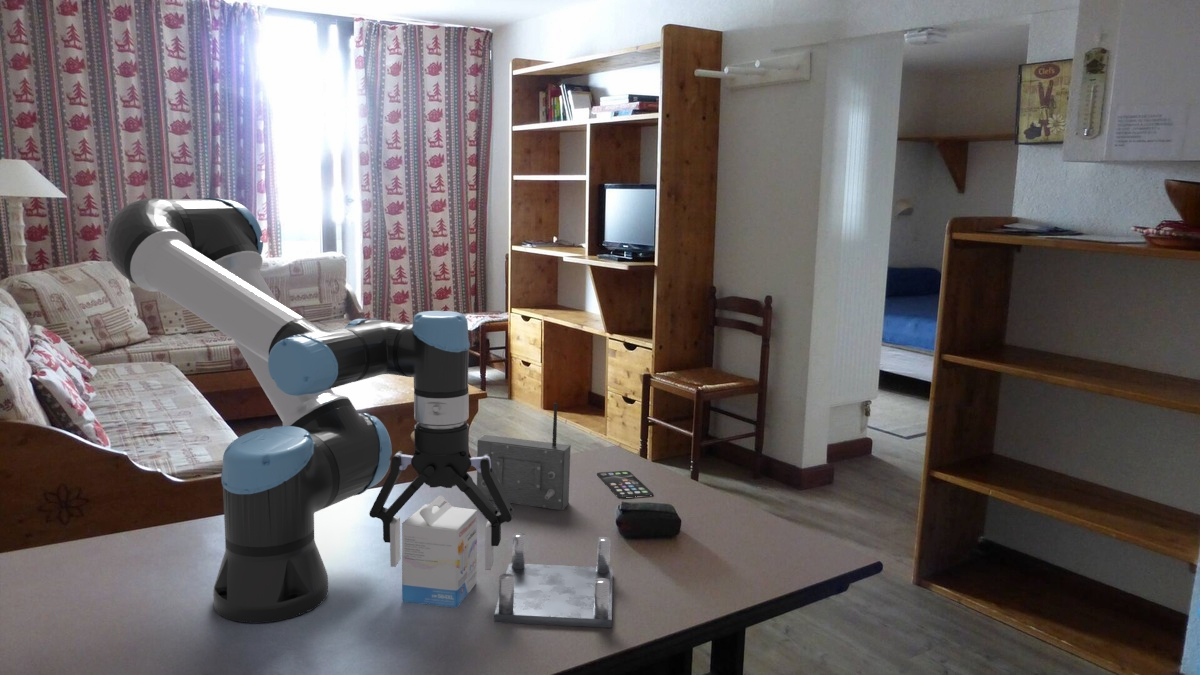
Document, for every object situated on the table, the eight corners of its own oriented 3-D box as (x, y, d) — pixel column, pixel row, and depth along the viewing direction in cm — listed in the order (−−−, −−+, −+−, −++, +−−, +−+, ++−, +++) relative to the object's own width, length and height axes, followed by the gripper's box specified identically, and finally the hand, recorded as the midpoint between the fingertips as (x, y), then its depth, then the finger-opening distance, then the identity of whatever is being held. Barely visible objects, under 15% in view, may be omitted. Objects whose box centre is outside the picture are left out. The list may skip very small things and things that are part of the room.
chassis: (493, 622, 117) (494, 579, 116) (508, 570, 133) (509, 532, 132) (611, 627, 117) (613, 585, 116) (612, 575, 133) (614, 537, 132)
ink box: (456, 609, 120) (457, 518, 118) (400, 601, 122) (400, 512, 120) (477, 582, 129) (478, 497, 126) (424, 575, 130) (425, 491, 128)
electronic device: (568, 503, 162) (572, 400, 159) (557, 516, 156) (561, 409, 152) (482, 491, 166) (484, 391, 163) (468, 503, 160) (469, 399, 157)
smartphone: (628, 470, 181) (655, 494, 167) (628, 473, 181) (654, 498, 167) (595, 472, 179) (619, 497, 165) (595, 475, 179) (618, 500, 165)
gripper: (344, 426, 117) (348, 572, 121) (527, 432, 117) (525, 578, 120) (361, 412, 125) (364, 550, 128) (533, 417, 124) (531, 556, 128)
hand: (442, 564), depth 124 cm, fingers open, 13 cm apart
